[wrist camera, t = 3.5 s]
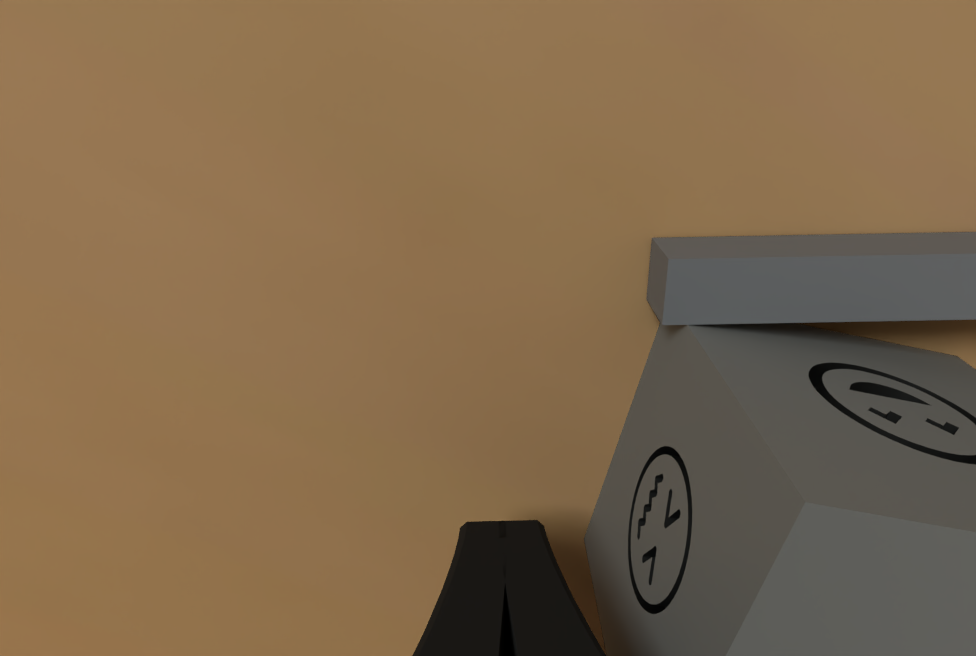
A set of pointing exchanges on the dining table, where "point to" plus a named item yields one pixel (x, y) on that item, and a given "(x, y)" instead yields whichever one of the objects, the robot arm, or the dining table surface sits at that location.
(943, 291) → the guide lane
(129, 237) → the dining table surface
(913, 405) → the dice cube
